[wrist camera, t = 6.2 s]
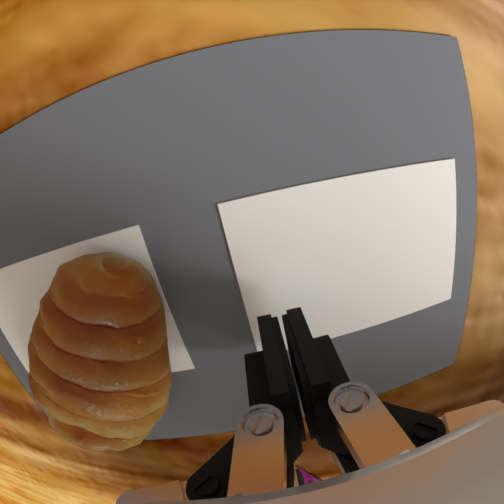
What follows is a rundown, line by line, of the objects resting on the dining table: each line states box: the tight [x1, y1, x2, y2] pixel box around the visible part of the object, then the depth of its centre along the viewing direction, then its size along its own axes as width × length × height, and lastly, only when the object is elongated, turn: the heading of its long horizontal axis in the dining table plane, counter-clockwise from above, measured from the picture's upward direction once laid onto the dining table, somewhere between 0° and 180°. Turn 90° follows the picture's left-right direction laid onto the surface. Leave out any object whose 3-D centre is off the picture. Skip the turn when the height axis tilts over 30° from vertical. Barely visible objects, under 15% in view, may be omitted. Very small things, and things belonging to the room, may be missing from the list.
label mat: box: [0, 30, 477, 440], centre depth 12 cm, size 26×18×1 cm
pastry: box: [28, 252, 172, 451], centre depth 11 cm, size 9×7×4 cm
